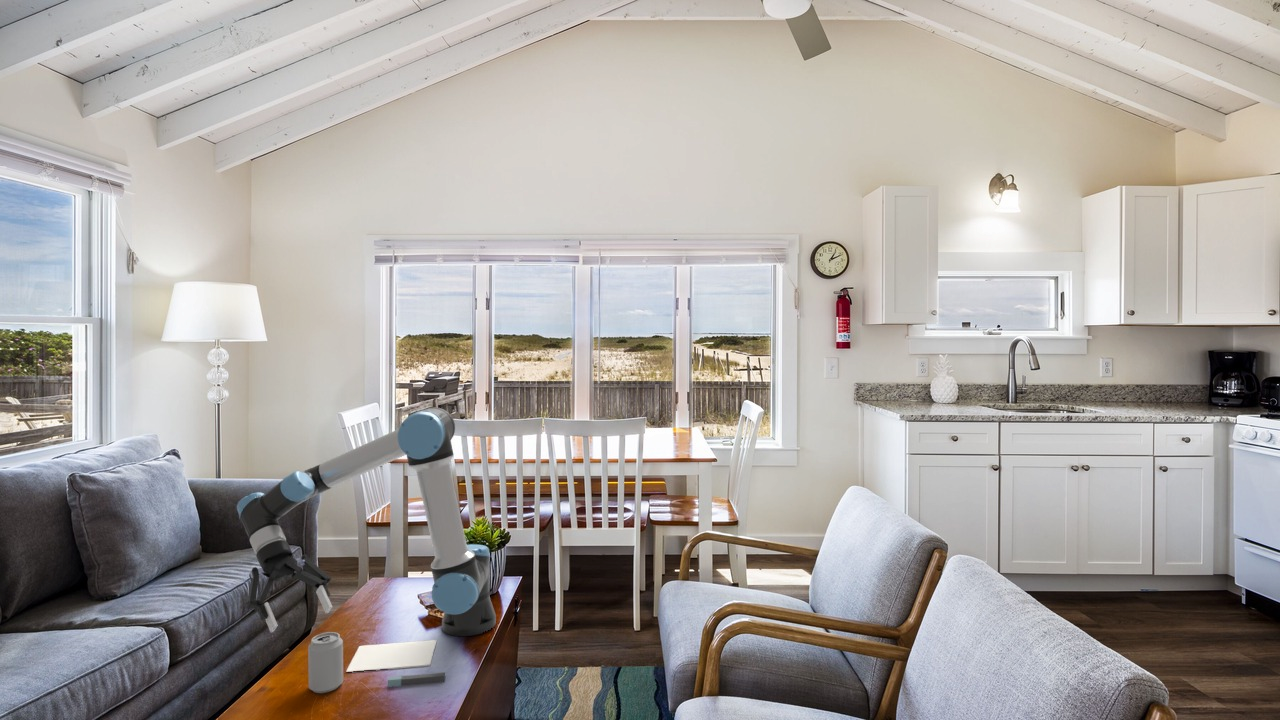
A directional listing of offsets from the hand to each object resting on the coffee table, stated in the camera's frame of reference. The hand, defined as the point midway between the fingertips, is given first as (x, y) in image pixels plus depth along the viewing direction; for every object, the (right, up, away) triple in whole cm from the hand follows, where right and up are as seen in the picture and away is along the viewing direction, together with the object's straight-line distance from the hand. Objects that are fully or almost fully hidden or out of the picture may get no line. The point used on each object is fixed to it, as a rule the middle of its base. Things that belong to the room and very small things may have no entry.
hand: (302, 619), depth 162 cm
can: (+8, -14, -5) cm, 17 cm away
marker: (+29, -14, -3) cm, 32 cm away
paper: (+18, -14, +10) cm, 25 cm away
